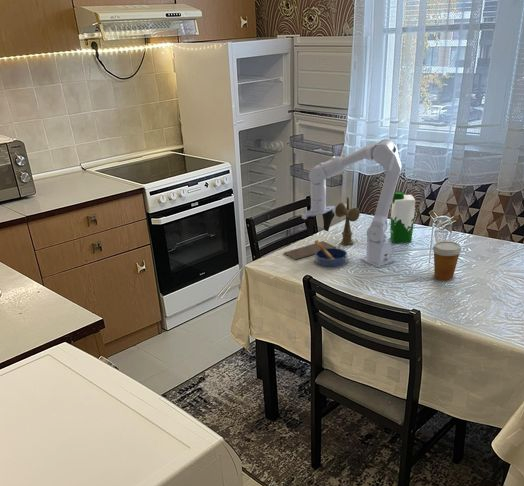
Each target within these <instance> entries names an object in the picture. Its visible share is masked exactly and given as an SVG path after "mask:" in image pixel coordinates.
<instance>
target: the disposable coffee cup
mask: <svg viewBox="0 0 524 486" xmlns="http://www.w3.org/2000/svg"><path fill="white" fill-rule="evenodd" d="M432 250H433V268H434V269H433V271H434V272H433V273H434V278H435V279H436V280H438V281H443V282H446V281H451V280H453V278H454V275H455V271H456V267H457V264H458V260H459V257H460V254H461V252H462V247H461V244H460V243H458V242H456V241H449V240H443V241H438V242H436V243H435V244H434V246H432Z"/></svg>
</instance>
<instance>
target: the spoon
mask: <svg viewBox="0 0 524 486" xmlns="http://www.w3.org/2000/svg"><path fill="white" fill-rule="evenodd" d="M320 242H321V241H319V240H318V239H316V240H314V244H316V245H317V246H318V247H319V248H320V249H321V250H322V251H323V253H324V254H325V255H326V256H327V257H328V258H329V259H334V258H333V256H332V255H331V254H330V253H329V252H328V251H327V250H326V249H325V248H324V247H323V245H322V244H321V243H320Z"/></svg>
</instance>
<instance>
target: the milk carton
mask: <svg viewBox="0 0 524 486" xmlns="http://www.w3.org/2000/svg"><path fill="white" fill-rule="evenodd" d="M415 211H416V199H415V197H414V196H413V194H405V192H404V191H401V190H400V191H399V190H398V191H395V192H394V195H393V199H392V202H391V211H390V226H389V231H390V239H391V241H392V243H393V244H404V243H412V238H413V232H414V222H415Z"/></svg>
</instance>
